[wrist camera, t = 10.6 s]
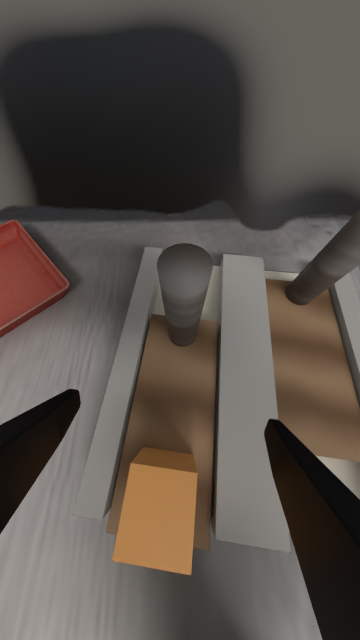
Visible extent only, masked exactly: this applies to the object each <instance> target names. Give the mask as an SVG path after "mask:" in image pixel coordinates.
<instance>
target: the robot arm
mask: <svg viewBox="0 0 360 640" xmlns="http://www.w3.org/2000/svg"><path fill="white" fill-rule="evenodd" d="M80 404H81V402H80V394H79V391H78V390H75V389H68V390H66V391H64V392H62V393H60V394H59V395H57V396H55V397H53V398H51V399H49V400H47V401H45V402H43V403H41V404H40V405H38V406H36V407H34V408H32V409H30V410H28V411H26V412H24V413H22V414H21V415H19V416H17V417H15V418H13V419H11V420H9V421H7V422H5V423H3V424H2V425H0V534H1V532H2V531H3V529H4V528H5V526H6V525H7V523H8V522H9V520H10V519H11V517H12V516H13V514H14V512H15V511H16V509H17V508H18V506H19V505H20V503H21V502H22V500H23V499H24V497H25V496H26V494H27V493H28V491H29V490H30V488H31V487H32V485H33V484H34V482H35V481H36V479H37V478H38V476H39V474H40V473H41V471H42V470H43V468H44V467H45V465H46V464H47V462H48V461H49V459H50V458H51V456H52V455H53V453H54V452H55V450H56V449H57V447H58V446H59V444H60V442H61V441H62V439H63V437H64V436H65V434H66V432H67V430H68V428H69V426H70V424H71V423H72V421H73V419H74V417H75V415H76V413H77V411H78V410H79V408H80ZM264 438H265V442H266V447H267V452H268V457H269V461H270V466H271V471H272V475H273V479H274V482H275V486H276V489H277V492H278V495H279V499H280V502H281V505H282V508H283V512H284V515H285V518H286V522H287V525H288V528H289V531H290V535H291V538H292V541H293V544H294V548H295V551H296V554H297V558H298V561H299V564H300V567H301V571H302V574H303V577H304V580H305V584H306V587H307V590H308V593H309V597H310V600H311V603H312V607H313V610H314V613H315V616H316V620H317V623H318V626H319V629H320V633H321V636H322V639H323V640H360V499H359V498H358V497H357V496H356V495H355V494H354V493H353V492H352V491H351V490H350V489H349V488H348V487H347V486H346V485H345V484H344V483H343V482H342V481H341V480H340V479H339V478H338V477H337V476H336V475H335V474H334V473H333V472H332V471H330V470H329V469H328V468H327V467H326V466H325V465H324V464H323V463H322V462H321V461H320V460H319V459H318V458H317V457H316V456H315V455H314V454H313V453H312V452H311V451H310V450H309V449H308V448H307V447H306V446H305V445H304V444H303V443H302V442H301V441H300V440H299V439H298V438H297V437H296V436H295V435H294V434H293V433H292V432H291V431H290V430H289V429H288V428H287V427H286V426H285V425H284V424H283V423H282V422H281V421H280V420H278V419H271V418H270V419H269V420H268V422H267V425H266V427H265V430H264Z"/></svg>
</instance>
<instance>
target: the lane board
mask: <svg viewBox="0 0 360 640" xmlns="http://www.w3.org/2000/svg"><path fill="white" fill-rule="evenodd" d="M161 253H162V248H153V247H145V250H144V253H143V257H142V261H141V264H140V268H139V272H138V275H137V279H136V283H135V286H134V290H133V294H132V297H131V301H130V305H129V308H128V312H127V315H126V319H125V323H124V326H123V330H122V334H121V337H120V341H119V345H118V348H117V352H116V356H115V359H114V363H113V367H112V370H111V374H110V378H109V381H108V385H107V389H106V392H105V396H104V400H103V403H102V407H101V411H100V414H99V418H98V422H97V425H96V429H95V433H94V436H93V440H92V444H91V447H90V451H89V455H88V458H87V462H86V466H85V469H84V473H83V477H82V480H81V484H80V487H79V491H78V495H77V498H76V502H75V506H74V509H73V513H72V515H75V516H81V517H87V518H92V519H98V520H103V518H104V517H105V515H106V514H107V512H108V511H109V509H110V508H111V506H112V501H113V496H114V491H115V487H116V482H117V477H118V472H119V468H120V463H121V458H122V453H123V448H124V444H125V439H126V434H127V429H128V425H129V420H130V415H131V410H132V405H133V401H134V396H135V391H136V386H137V382H138V377H139V372H140V367H141V362H142V358H143V353H144V348H145V343H146V339H147V334H148V329H149V324H150V319H151V315H152V314H157V315H165V311H164V305H163V300H162V294H161V288H160V282H159V277H158V271H157V260H158V258H159V256H160V254H161ZM298 275H299V274H297V273H286V272H275V271H265V270H264V260H263V257H253V256H242V255H231V254H223V257H222V261H221V264H220V266H213V270H212V274H211V278H210V282H209V286H208V290H207V294H206V298H205V302H204V306H203V310H202V315H201V319H202V320H211V321H218V332H217V359H216V386H215V413H214V440H213V467H212V494H211V524H212V528H213V532H214V536H215V539H216V540H220V541H226V542H231V543H237V544H243V545H249V546H255V547H260V548H266V549H272V550H278V551H284V552H289V553H291V551H290V540H289V532H290V531H289V528H288V525H287V522H286V518H285V515H284V512H283V508H282V505H281V502H280V499H279V495H278V492H277V489H276V486H275V482H274V479H273V475H272V471H271V466H270V461H269V457H268V452H267V447H266V442H265V438H264V430H265V427H266V425H267V422H268V420H269V419H270V418H271V419H278V411H277V400H276V389H275V378H274V368H273V357H272V346H271V335H270V325H269V314H268V303H267V292H266V282H265V279H274V280H284V281H293V280H294V279H295V278H296V277H297V276H298ZM328 290H329V294H330V298H331V301H332V305H333V309H334V313H335V316H336V320H337V324H338V328H339V332H340V335H341V339H342V343H343V347H344V350H345V354H346V358H347V362H348V366H349V369H350V373H351V377H352V381H353V384H354V388H355V392H356V396H357V400H358V403H359V407H360V302H359V299H358V296H357V293H356V290H355V287H354V284H353V281H352V278H351V275H350V272H349V273H348V274H346V275H345V276H344V277H342V278H341V279H340V280H338V281H337V282H336V283H334V284H333V285H332V286H330V287H329V288H328ZM316 457H317V458H318V459H319V460H320V461H321V462H322V463H323V464H324V465H325V466H326V467H327V468H328V469H329V470H330V471H332V472H333V473H334V474H335V475H336V476H337V477H338V478H339V479H340V480H341V481H342V482H343V483H344V484H345V485H346V486H347V487H348V488H349V489H350V490H351V491H352V492H353V493H354V494H355V495H356V496H357V497H358V498H359V499H360V462H357V461H350V460H343V459H336V458H329V457H322V456H316Z"/></svg>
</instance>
